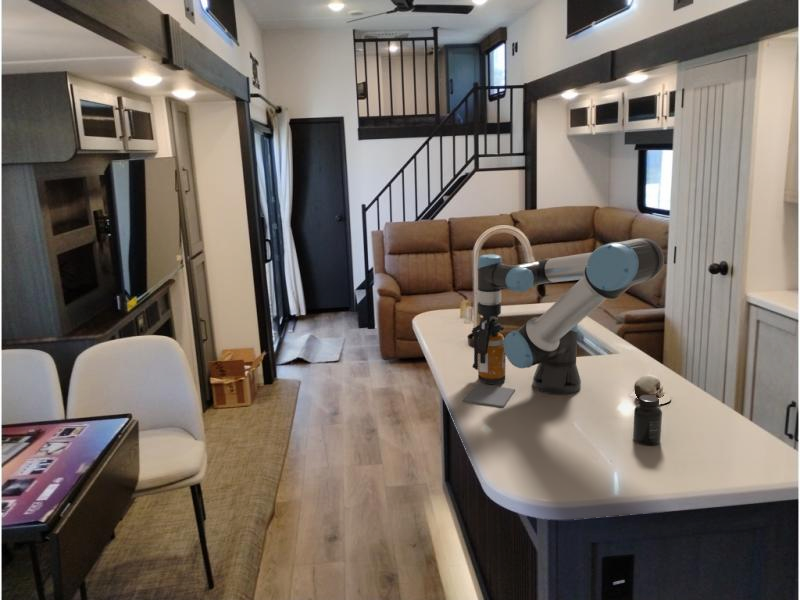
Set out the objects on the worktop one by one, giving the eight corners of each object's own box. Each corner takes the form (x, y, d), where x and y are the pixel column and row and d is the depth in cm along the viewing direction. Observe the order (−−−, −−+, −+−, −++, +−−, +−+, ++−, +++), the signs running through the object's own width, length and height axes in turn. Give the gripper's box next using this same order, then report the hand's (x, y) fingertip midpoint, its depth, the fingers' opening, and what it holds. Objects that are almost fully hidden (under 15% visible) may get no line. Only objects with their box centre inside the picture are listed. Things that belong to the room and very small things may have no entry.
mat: (515, 390, 202) (515, 389, 201) (503, 407, 189) (503, 405, 189) (476, 385, 207) (476, 383, 207) (462, 401, 194) (462, 399, 194)
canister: (504, 386, 206) (505, 327, 201) (470, 384, 208) (470, 326, 203) (505, 376, 214) (506, 319, 209) (473, 374, 216) (473, 318, 212)
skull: (648, 383, 202) (667, 368, 194) (664, 413, 197) (684, 398, 189) (618, 388, 198) (636, 373, 190) (633, 418, 192) (652, 404, 184)
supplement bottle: (659, 436, 169) (662, 394, 166) (660, 447, 163) (664, 404, 160) (632, 433, 171) (635, 391, 168) (632, 444, 165) (635, 401, 162)
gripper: (488, 293, 216) (487, 353, 222) (466, 310, 196) (466, 376, 201) (509, 294, 213) (508, 356, 219) (490, 312, 193) (489, 379, 198)
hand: (488, 365), depth 210 cm, fingers open, 11 cm apart
